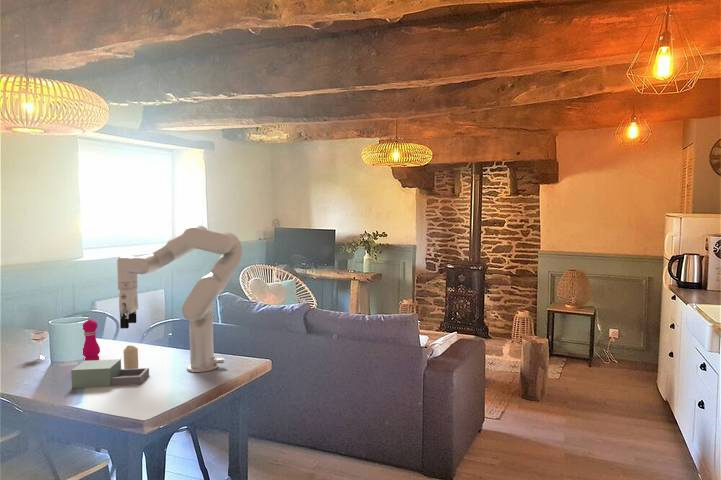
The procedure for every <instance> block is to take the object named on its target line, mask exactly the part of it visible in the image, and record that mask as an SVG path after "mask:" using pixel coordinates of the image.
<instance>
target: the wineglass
mask: <svg viewBox="0 0 721 480" xmlns="http://www.w3.org/2000/svg"><path fill="white" fill-rule="evenodd" d="M48 338H49V337H48V330H47V329H46V330H45V329H41V330H35V331H30V340H31V341H32V342H33V343H35V344H37V345H38V352H39V353H38V354H39V355H38V356H36V357H34V358H33V360H43V359H45V357H46V355H41V354H42V353H41V351H42V349H41V347H42V346H41V345H42V343H44V342H46V341H47V339H48ZM42 358H43V359H42ZM46 358H47V357H46Z"/></svg>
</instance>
